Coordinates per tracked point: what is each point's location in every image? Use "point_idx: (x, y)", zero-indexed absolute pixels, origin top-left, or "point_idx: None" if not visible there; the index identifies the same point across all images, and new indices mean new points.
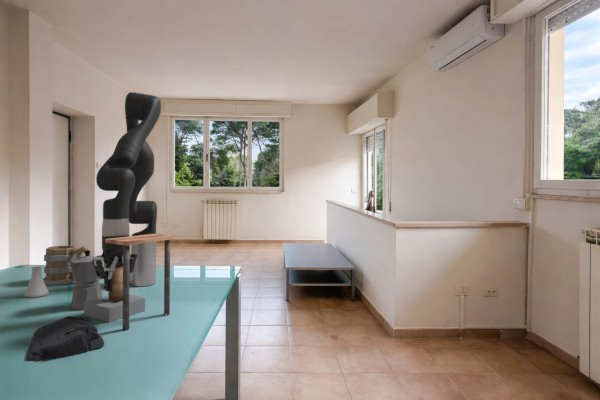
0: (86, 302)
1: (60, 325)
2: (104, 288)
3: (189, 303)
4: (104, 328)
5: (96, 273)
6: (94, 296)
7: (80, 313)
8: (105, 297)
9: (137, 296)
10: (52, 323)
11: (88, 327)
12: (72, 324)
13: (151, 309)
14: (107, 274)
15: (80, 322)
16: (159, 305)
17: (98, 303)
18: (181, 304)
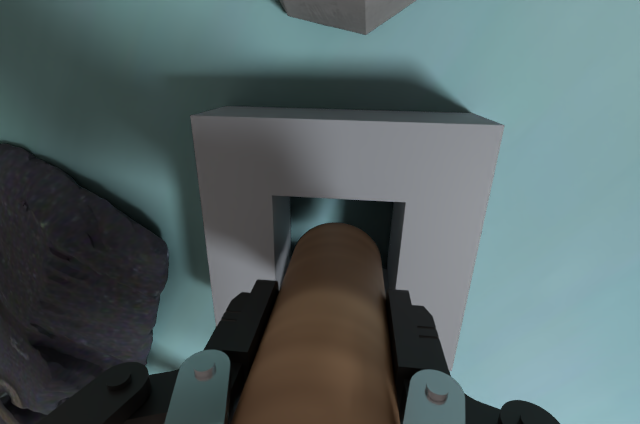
0: (194, 147)
1: (16, 294)
2: (234, 301)
3: (624, 412)
4: (196, 333)
5: (56, 414)
6: (341, 3)
7: (231, 54)
8: (340, 153)
9: (461, 315)
10: (10, 209)
11: (112, 356)
12: (32, 365)
13: (466, 328)
14: (222, 402)
15: (51, 389)
16: (542, 319)
17: (230, 234)
18: (595, 393)
